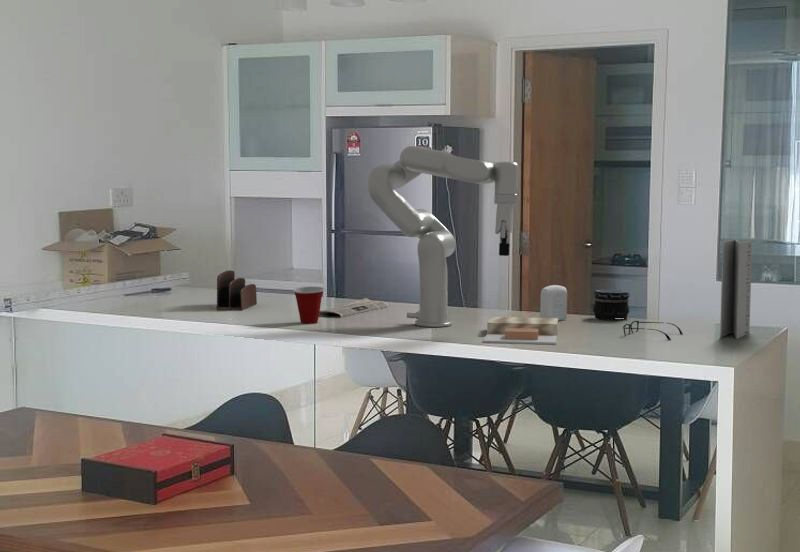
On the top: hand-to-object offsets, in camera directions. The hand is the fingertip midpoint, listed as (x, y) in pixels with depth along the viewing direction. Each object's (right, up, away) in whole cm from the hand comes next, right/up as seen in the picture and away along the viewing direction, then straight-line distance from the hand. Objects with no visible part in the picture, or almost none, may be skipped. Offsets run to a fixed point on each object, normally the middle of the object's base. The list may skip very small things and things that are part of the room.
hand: (504, 255), depth 352 cm
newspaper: (-52, -21, +47) cm, 73 cm away
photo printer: (+19, -23, +23) cm, 37 cm away
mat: (+3, -27, -22) cm, 34 cm away
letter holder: (-97, -19, +60) cm, 116 cm away
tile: (+4, -25, -21) cm, 33 cm away
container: (+41, -22, +27) cm, 54 cm away
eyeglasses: (+46, -26, -12) cm, 55 cm away
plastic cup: (-66, -23, +17) cm, 72 cm away
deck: (+6, -25, -6) cm, 27 cm away
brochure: (+72, -26, -11) cm, 78 cm away
